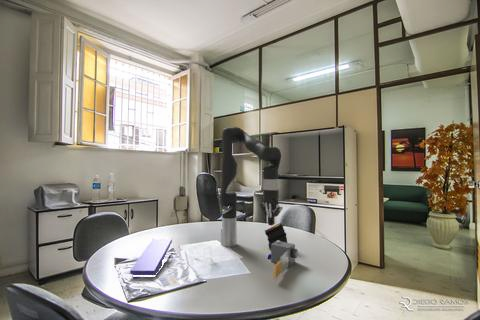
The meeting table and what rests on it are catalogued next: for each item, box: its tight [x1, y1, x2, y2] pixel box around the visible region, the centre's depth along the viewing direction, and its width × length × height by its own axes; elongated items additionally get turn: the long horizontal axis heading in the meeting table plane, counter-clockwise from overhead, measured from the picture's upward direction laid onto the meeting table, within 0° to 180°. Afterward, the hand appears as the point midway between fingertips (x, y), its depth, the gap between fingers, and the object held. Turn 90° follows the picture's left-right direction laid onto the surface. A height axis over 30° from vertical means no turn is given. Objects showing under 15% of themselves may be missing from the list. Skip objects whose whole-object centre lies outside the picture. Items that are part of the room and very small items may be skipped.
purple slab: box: [129, 238, 173, 276], centre depth 117 cm, size 12×28×10 cm, turn 1°
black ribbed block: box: [264, 222, 288, 251], centre depth 139 cm, size 4×13×15 cm, turn 91°
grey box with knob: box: [270, 241, 299, 267], centre depth 119 cm, size 12×7×10 cm, turn 53°
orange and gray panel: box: [273, 249, 291, 279], centre depth 106 cm, size 19×1×8 cm, turn 150°
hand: (271, 225), depth 111 cm, fingers closed
